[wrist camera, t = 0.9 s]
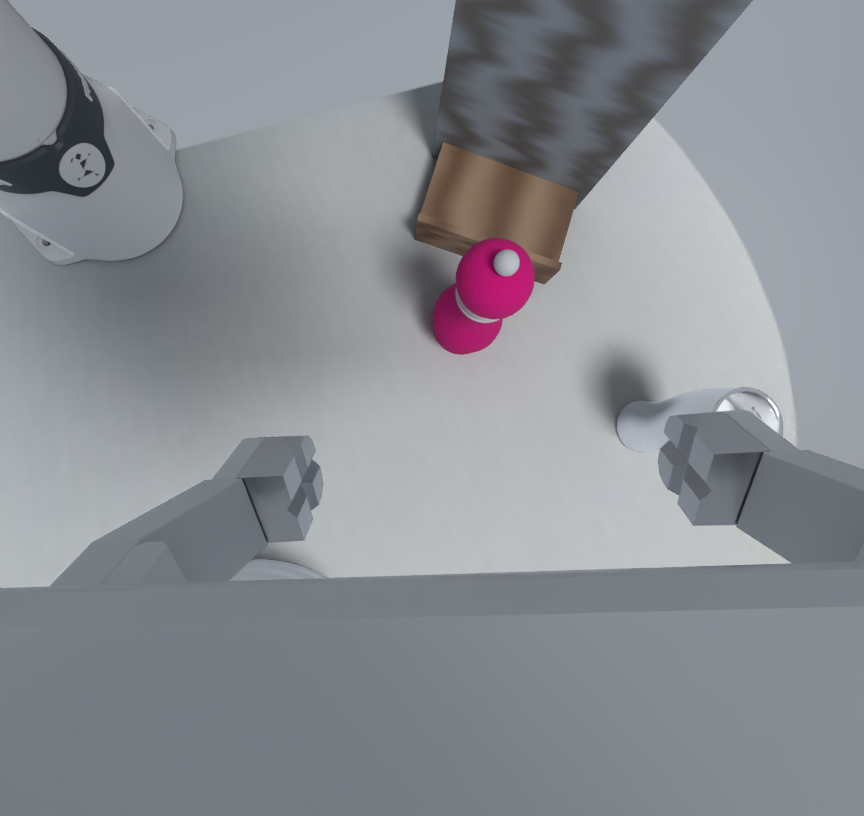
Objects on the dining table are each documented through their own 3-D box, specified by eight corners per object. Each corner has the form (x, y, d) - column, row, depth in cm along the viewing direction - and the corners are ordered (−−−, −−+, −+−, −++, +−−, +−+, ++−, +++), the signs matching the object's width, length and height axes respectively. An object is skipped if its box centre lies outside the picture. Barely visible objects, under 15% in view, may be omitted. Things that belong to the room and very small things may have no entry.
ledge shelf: (406, 236, 48) (428, -30, 20) (434, 147, 48) (495, -230, 21) (552, 287, 49) (763, 105, 21) (577, 199, 50) (814, -86, 22)
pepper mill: (492, 298, 48) (563, 210, 28) (490, 360, 48) (560, 314, 28) (430, 294, 48) (459, 200, 28) (427, 357, 47) (454, 307, 27)
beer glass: (608, 400, 49) (702, 389, 34) (663, 393, 50) (779, 379, 35) (616, 459, 49) (715, 474, 34) (671, 451, 50) (792, 462, 35)
